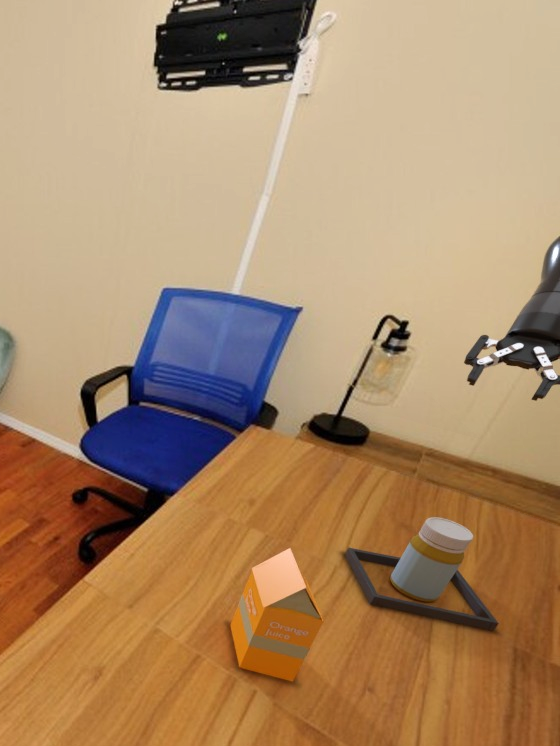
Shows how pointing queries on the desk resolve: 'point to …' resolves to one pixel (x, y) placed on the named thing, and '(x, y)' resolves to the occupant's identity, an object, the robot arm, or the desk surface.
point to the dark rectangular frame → (479, 621)
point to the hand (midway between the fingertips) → (502, 390)
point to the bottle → (431, 559)
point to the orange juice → (275, 619)
